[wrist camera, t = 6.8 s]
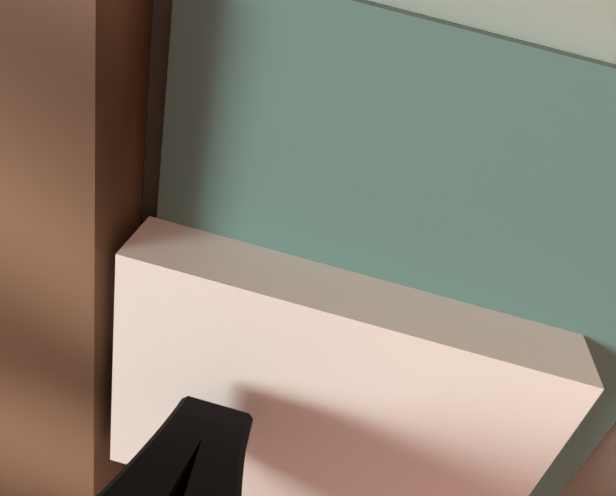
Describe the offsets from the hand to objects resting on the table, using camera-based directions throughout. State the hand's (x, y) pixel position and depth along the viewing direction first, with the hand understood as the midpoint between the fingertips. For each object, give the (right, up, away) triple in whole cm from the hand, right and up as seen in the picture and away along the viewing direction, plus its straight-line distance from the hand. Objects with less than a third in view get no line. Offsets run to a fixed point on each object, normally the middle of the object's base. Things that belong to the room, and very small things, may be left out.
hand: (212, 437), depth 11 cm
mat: (+3, +1, +2) cm, 4 cm away
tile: (+2, +1, +2) cm, 3 cm away
